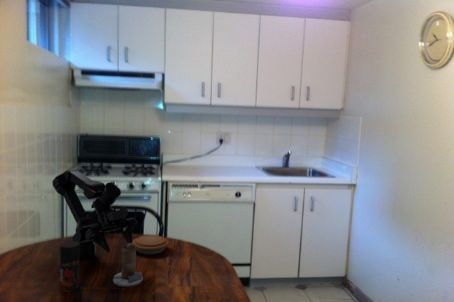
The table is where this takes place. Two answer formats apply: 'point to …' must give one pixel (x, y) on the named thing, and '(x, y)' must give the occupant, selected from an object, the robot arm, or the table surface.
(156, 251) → the pie
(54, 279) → the table surface
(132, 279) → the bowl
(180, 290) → the table surface
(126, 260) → the brown cylinder
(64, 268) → the deodorant
